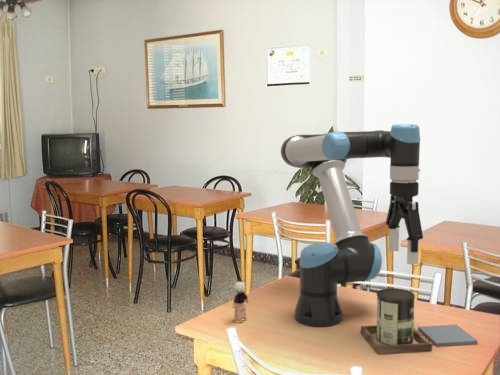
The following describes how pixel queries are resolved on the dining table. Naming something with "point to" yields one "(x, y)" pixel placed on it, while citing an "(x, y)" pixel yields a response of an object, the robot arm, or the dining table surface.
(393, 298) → the coffee can
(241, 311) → the grandmother figurine
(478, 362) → the dining table surface
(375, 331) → the square picture frame
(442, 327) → the mat
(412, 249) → the robot arm
